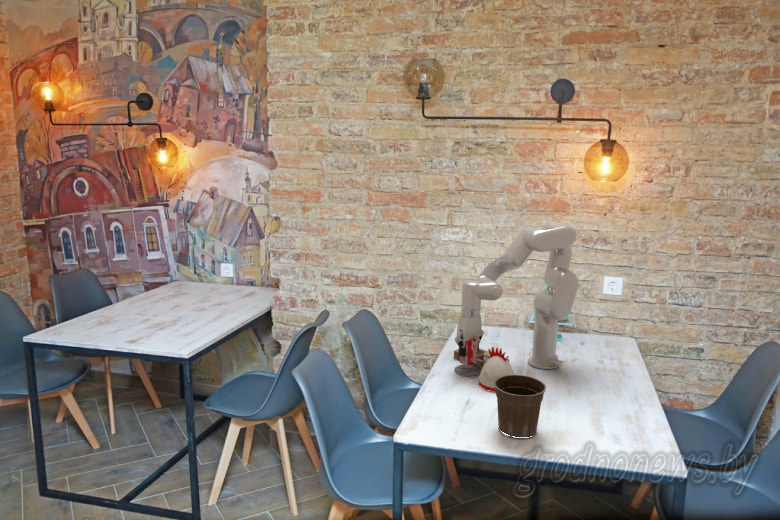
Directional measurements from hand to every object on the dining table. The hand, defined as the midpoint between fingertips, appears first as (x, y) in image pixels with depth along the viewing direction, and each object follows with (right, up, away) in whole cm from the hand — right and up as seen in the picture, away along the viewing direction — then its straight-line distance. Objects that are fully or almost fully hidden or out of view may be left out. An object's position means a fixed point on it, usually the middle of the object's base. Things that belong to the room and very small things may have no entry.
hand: (468, 353), depth 243 cm
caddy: (+6, -5, +11) cm, 14 cm away
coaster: (0, -7, +2) cm, 7 cm away
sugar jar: (+10, -6, +7) cm, 13 cm away
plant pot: (+10, -18, -46) cm, 51 cm away
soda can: (0, -4, +1) cm, 4 cm away
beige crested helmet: (+9, -11, -11) cm, 18 cm away
